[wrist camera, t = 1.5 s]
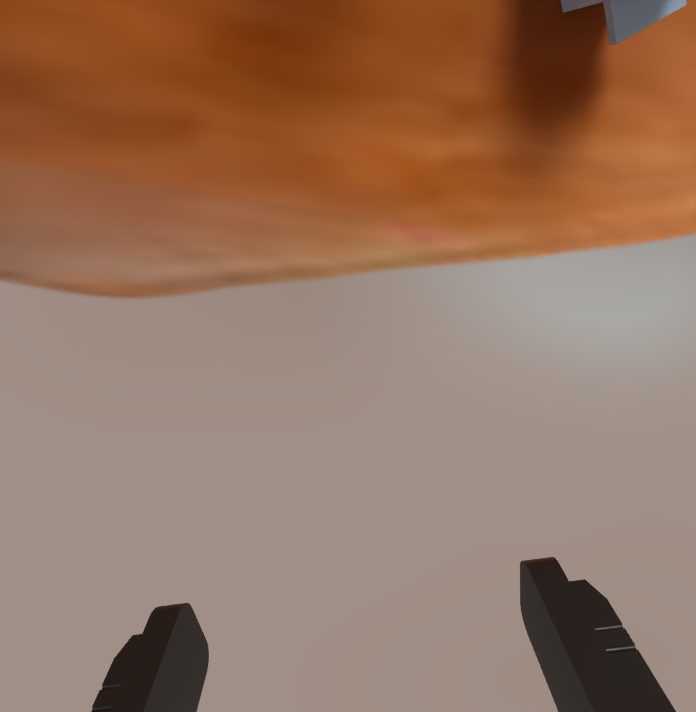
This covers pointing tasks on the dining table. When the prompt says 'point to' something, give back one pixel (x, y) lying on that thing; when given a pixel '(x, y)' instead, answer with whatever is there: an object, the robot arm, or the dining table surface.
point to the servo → (628, 14)
